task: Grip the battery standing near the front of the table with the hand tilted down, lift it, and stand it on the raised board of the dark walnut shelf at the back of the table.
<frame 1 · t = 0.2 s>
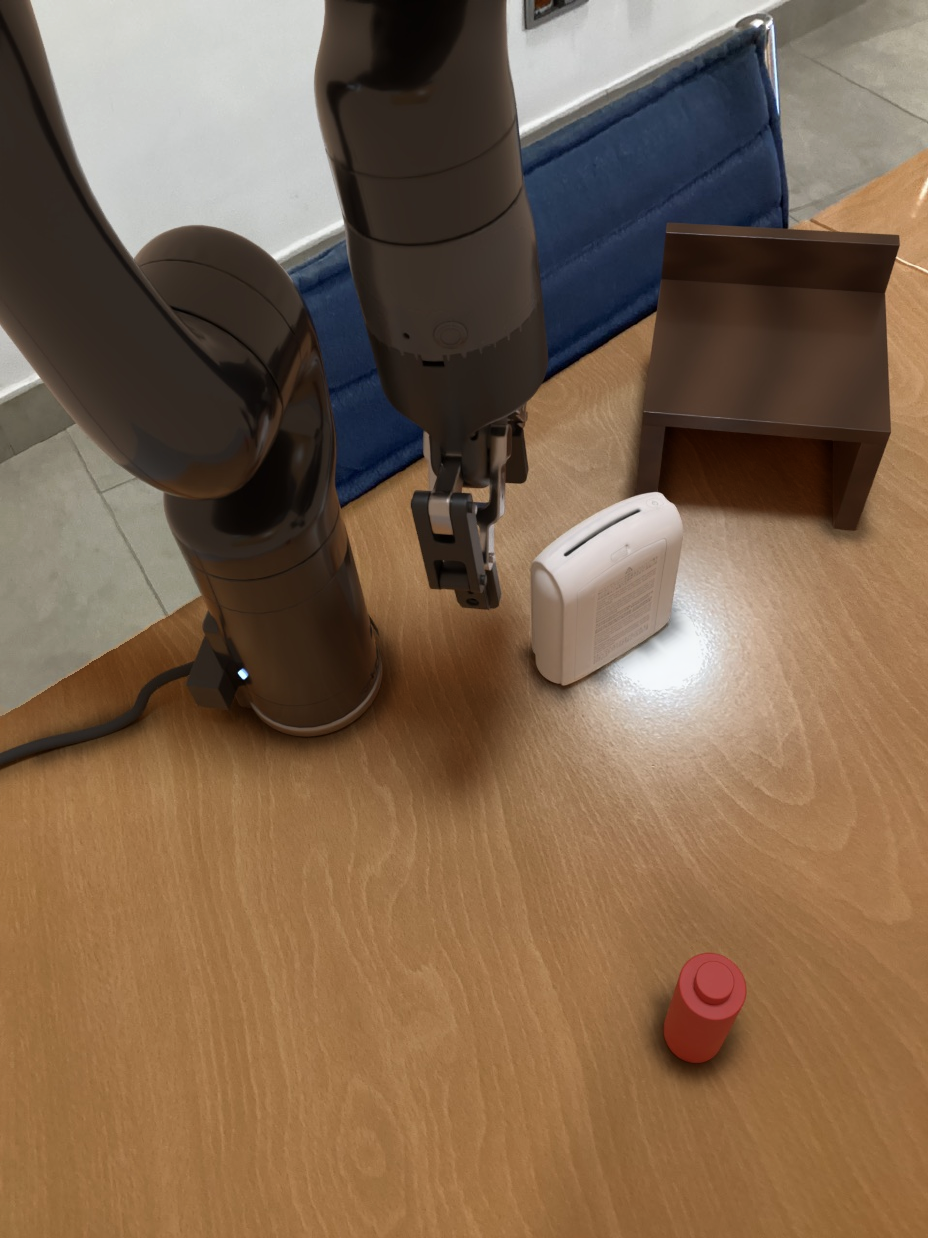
hand: (495, 538, 57), 17 cm above the table, tool pointing down, fingers open, 8 cm apart
battery: (693, 1032, 58), on the table
shelf: (747, 450, 82), on the table
photo printer: (601, 640, 73), on the table
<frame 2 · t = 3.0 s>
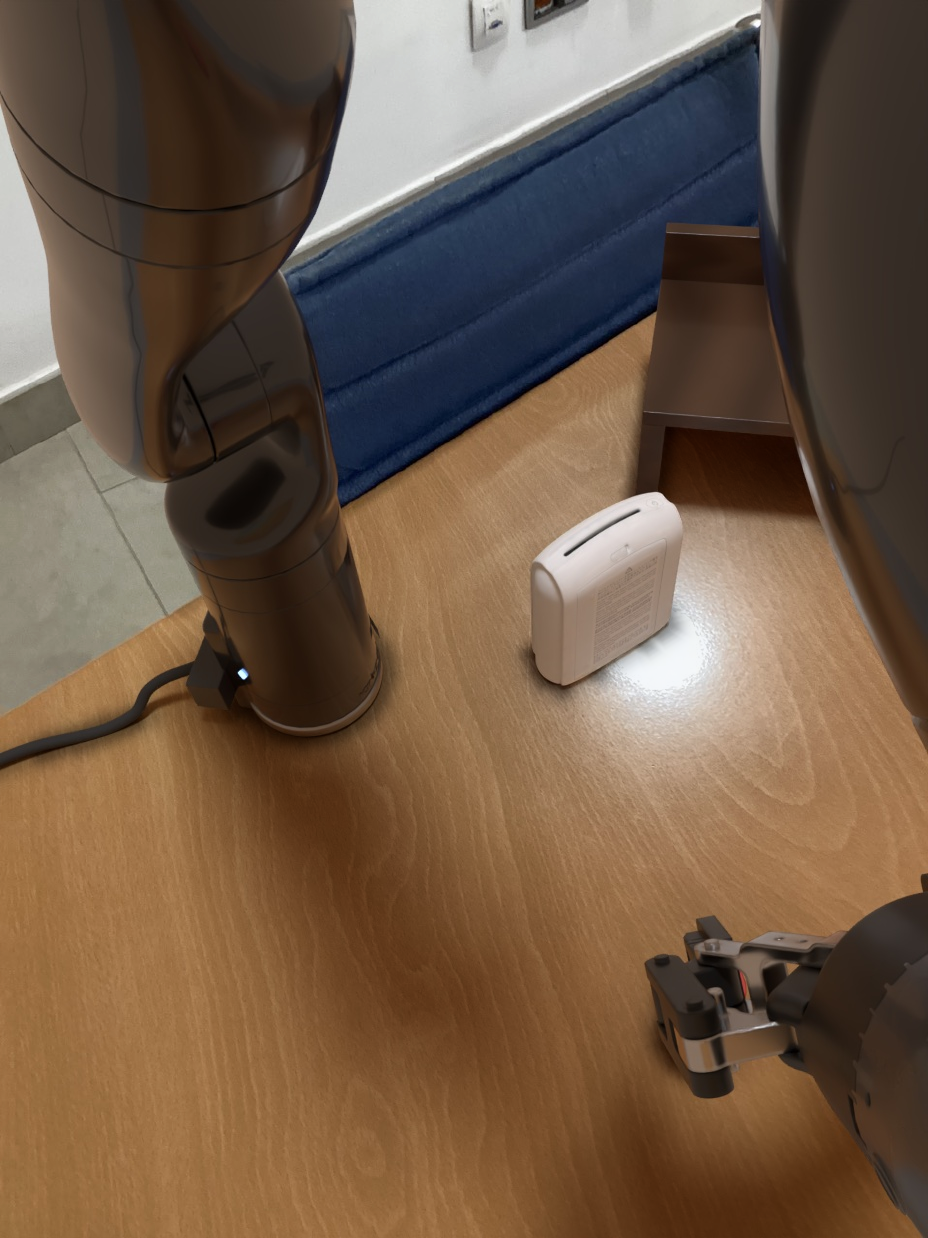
hand: (820, 921, 40), 21 cm above the table, tool tilted 35°, fingers open, 8 cm apart
nothing on the table moved.
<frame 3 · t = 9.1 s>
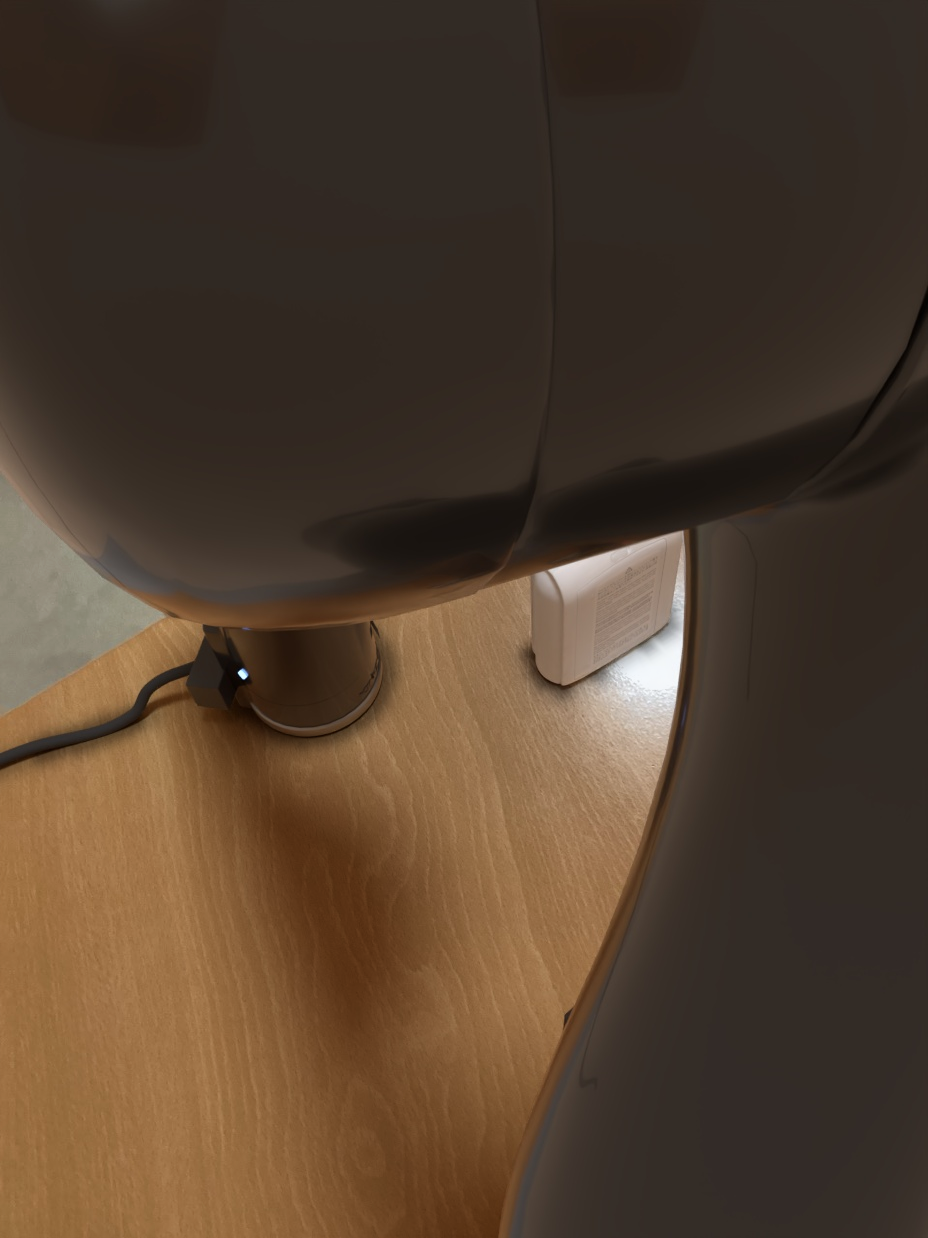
hand: (706, 962, 54), 6 cm above the table, tool tilted 45°, fingers closed on battery, 3 cm apart
battery: (692, 1032, 58), on the table, touching gripper
everything else where it was.
when the fingers open (16 cm above the table, at t = 20.1 s): battery stays where it is, resting on shelf.
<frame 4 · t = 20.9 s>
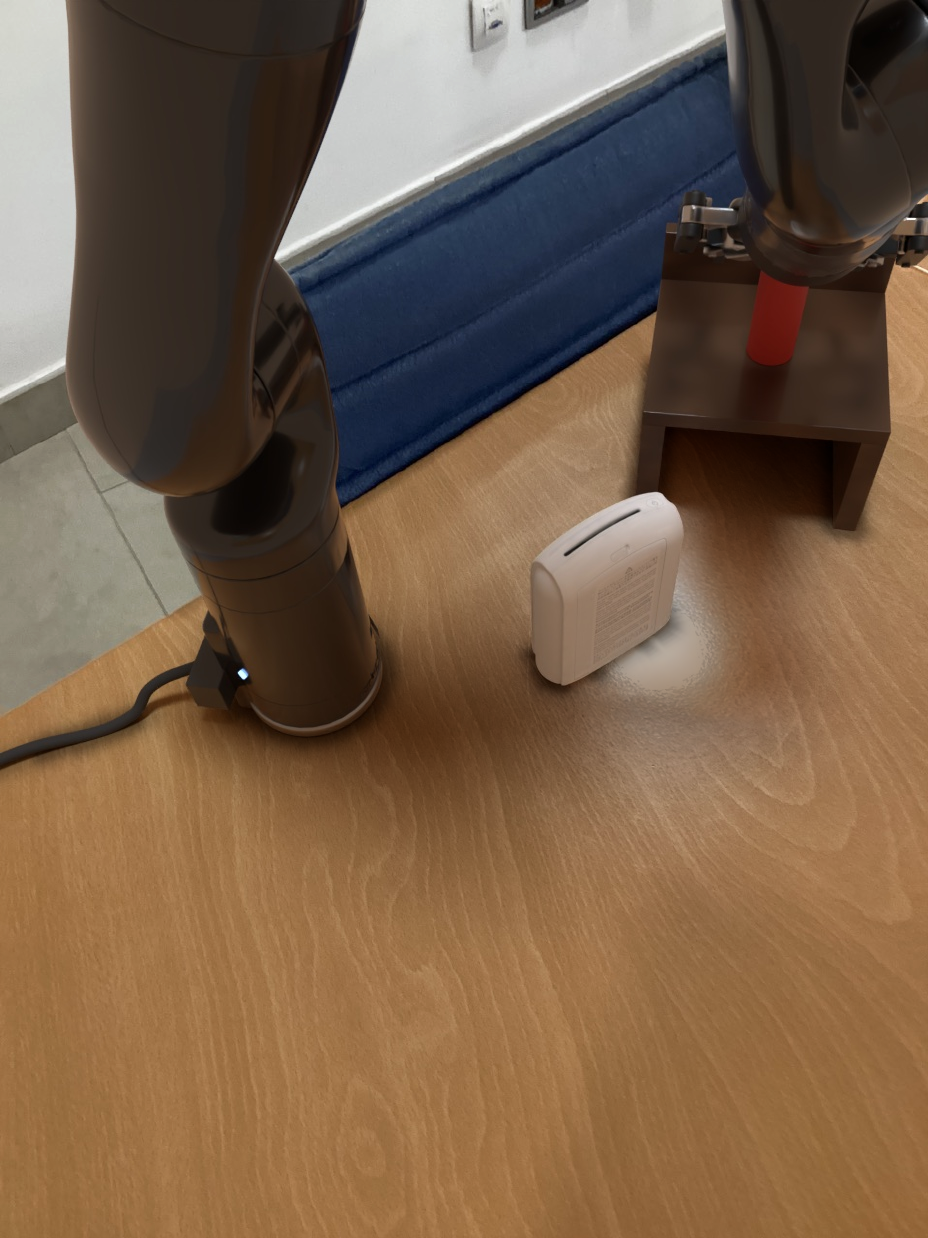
hand: (786, 250, 69), 17 cm above the table, tool tilted 45°, fingers open, 8 cm apart
battery: (769, 350, 74), point 10 cm above the table, touching shelf
everything else where it was.
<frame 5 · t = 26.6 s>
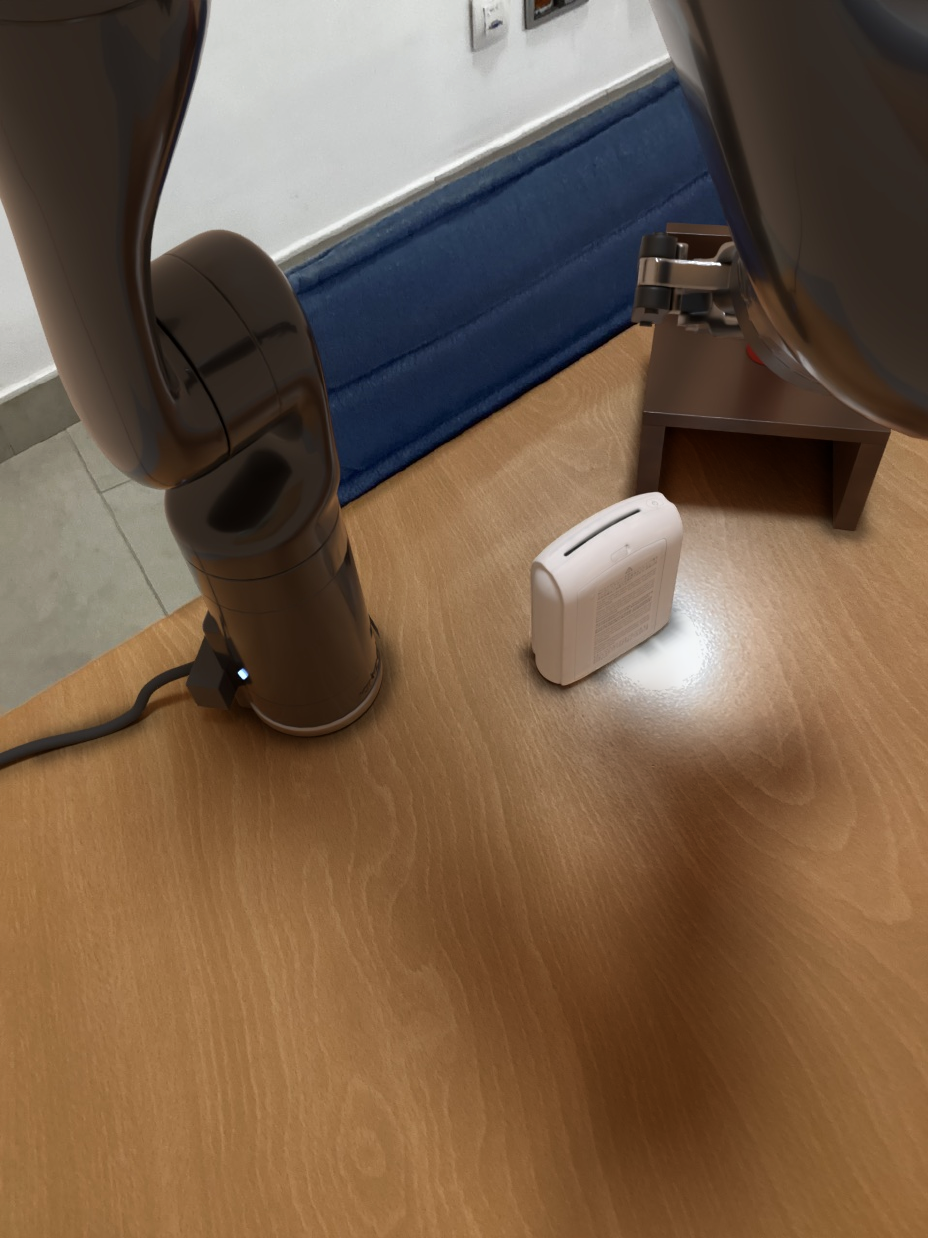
hand: (805, 315, 45), 31 cm above the table, tool tilted 45°, fingers open, 8 cm apart
nothing on the table moved.
at the end: battery inside the target area on the shelf (0.1 cm from its centre), point 10.0 cm above the shelf's base; battery tilted 0°; the gripper is holding nothing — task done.
